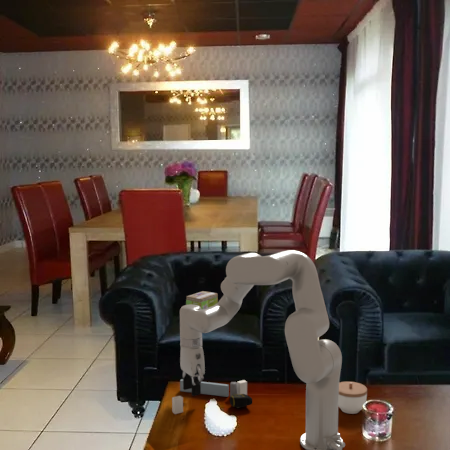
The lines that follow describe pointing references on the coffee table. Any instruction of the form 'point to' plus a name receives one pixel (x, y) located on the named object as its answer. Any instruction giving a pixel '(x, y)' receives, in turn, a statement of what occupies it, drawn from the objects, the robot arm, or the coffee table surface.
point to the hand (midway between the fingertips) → (191, 391)
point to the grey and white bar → (234, 389)
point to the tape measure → (240, 400)
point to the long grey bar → (210, 388)
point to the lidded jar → (351, 397)
